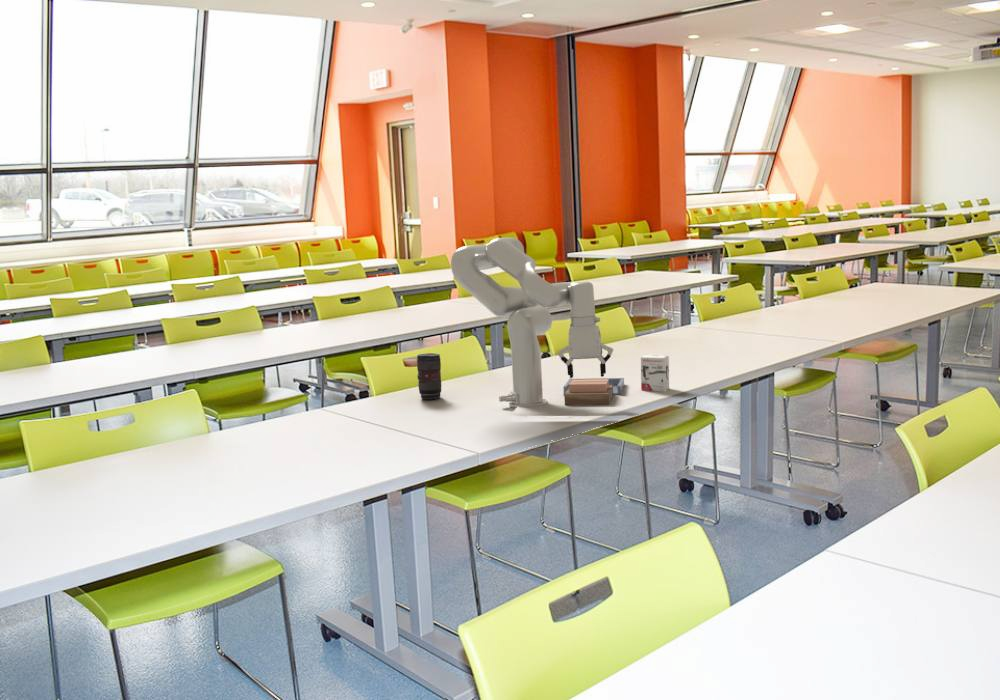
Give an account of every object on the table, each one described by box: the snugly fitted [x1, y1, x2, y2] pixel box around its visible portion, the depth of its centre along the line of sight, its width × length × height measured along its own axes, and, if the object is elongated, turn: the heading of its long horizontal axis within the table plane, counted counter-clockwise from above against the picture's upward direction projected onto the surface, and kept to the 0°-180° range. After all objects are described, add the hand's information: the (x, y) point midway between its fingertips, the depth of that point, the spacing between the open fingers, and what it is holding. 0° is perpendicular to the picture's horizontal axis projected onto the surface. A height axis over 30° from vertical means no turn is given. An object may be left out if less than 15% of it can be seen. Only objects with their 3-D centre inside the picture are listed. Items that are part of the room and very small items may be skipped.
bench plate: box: [563, 385, 614, 406], centre depth 291 cm, size 16×14×4 cm
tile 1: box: [569, 382, 608, 392], centre depth 288 cm, size 4×12×2 cm, turn 78°
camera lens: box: [416, 353, 442, 400], centre depth 309 cm, size 8×8×15 cm
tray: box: [563, 377, 625, 396], centre depth 306 cm, size 16×19×3 cm
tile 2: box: [571, 378, 609, 388], centre depth 293 cm, size 4×12×2 cm, turn 78°
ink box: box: [640, 354, 670, 393], centre depth 301 cm, size 9×5×12 cm, turn 62°
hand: (587, 376), depth 279 cm, fingers open, 9 cm apart
